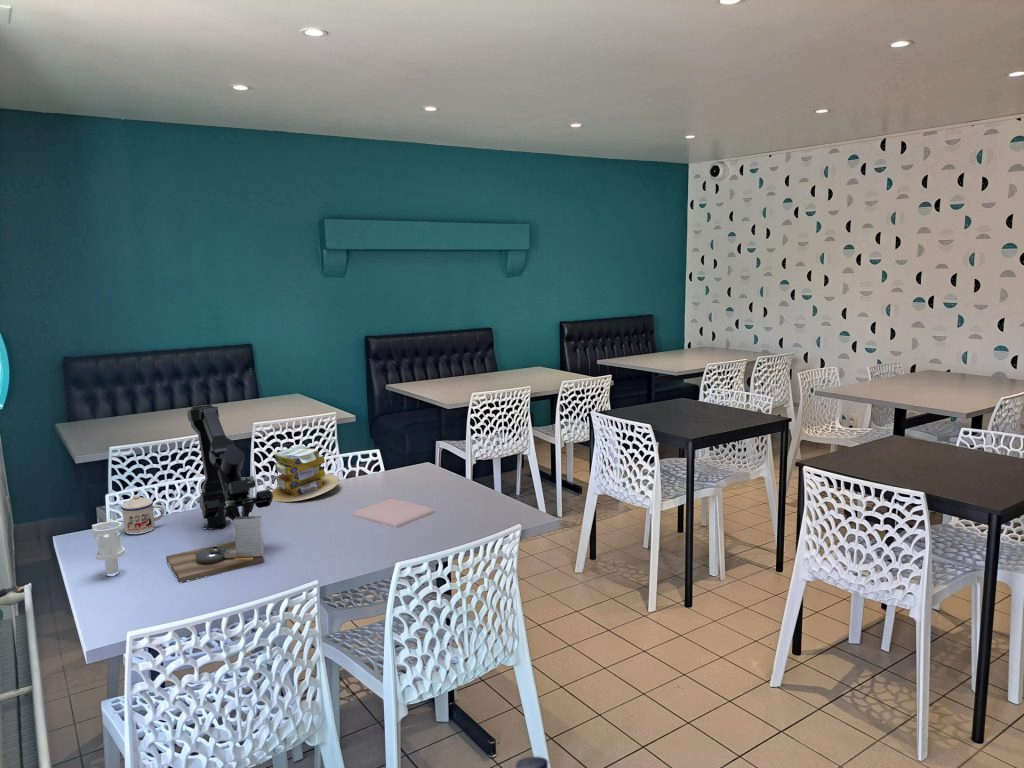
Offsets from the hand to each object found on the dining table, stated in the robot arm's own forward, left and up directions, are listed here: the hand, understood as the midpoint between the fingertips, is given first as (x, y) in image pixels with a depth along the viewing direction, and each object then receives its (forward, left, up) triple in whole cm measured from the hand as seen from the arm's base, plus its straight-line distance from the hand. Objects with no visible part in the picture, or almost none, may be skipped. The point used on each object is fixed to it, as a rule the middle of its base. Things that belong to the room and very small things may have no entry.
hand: (245, 530), depth 207 cm
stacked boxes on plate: (-62, +1, -9) cm, 63 cm away
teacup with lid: (-27, -41, -9) cm, 50 cm away
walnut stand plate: (0, -9, -9) cm, 13 cm away
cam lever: (+2, -4, -7) cm, 8 cm away
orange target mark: (+3, 0, -8) cm, 8 cm away
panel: (-31, +30, -10) cm, 44 cm away
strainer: (+7, -34, -9) cm, 36 cm away
